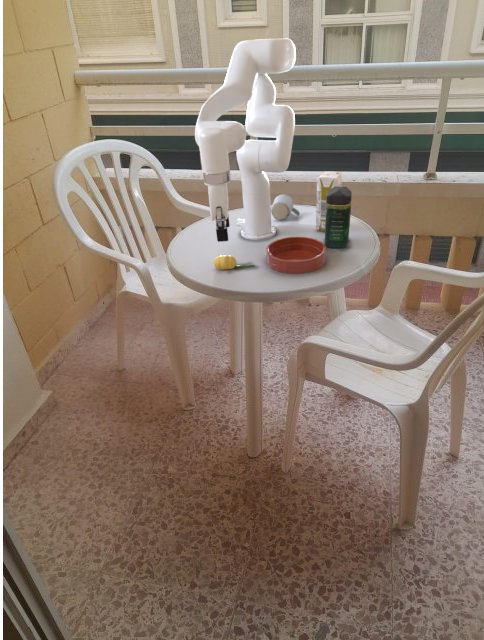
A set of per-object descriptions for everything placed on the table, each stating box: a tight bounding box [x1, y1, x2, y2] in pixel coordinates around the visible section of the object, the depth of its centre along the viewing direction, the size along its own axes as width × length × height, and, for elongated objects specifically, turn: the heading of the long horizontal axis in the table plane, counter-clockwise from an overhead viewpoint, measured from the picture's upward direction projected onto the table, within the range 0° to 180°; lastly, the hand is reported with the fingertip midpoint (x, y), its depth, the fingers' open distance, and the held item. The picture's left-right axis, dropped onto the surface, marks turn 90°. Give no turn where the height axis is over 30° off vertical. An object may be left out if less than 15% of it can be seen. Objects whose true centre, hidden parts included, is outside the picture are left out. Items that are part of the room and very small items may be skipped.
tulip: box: [213, 254, 256, 271], centre depth 141 cm, size 13×5×4 cm, turn 90°
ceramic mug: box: [271, 194, 301, 221], centre depth 172 cm, size 11×8×8 cm
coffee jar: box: [323, 186, 353, 250], centre depth 147 cm, size 10×8×19 cm
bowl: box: [265, 235, 327, 275], centre depth 142 cm, size 18×18×4 cm
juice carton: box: [315, 171, 343, 232], centre depth 158 cm, size 8×9×19 cm
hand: (223, 233), depth 136 cm, fingers open, 9 cm apart
